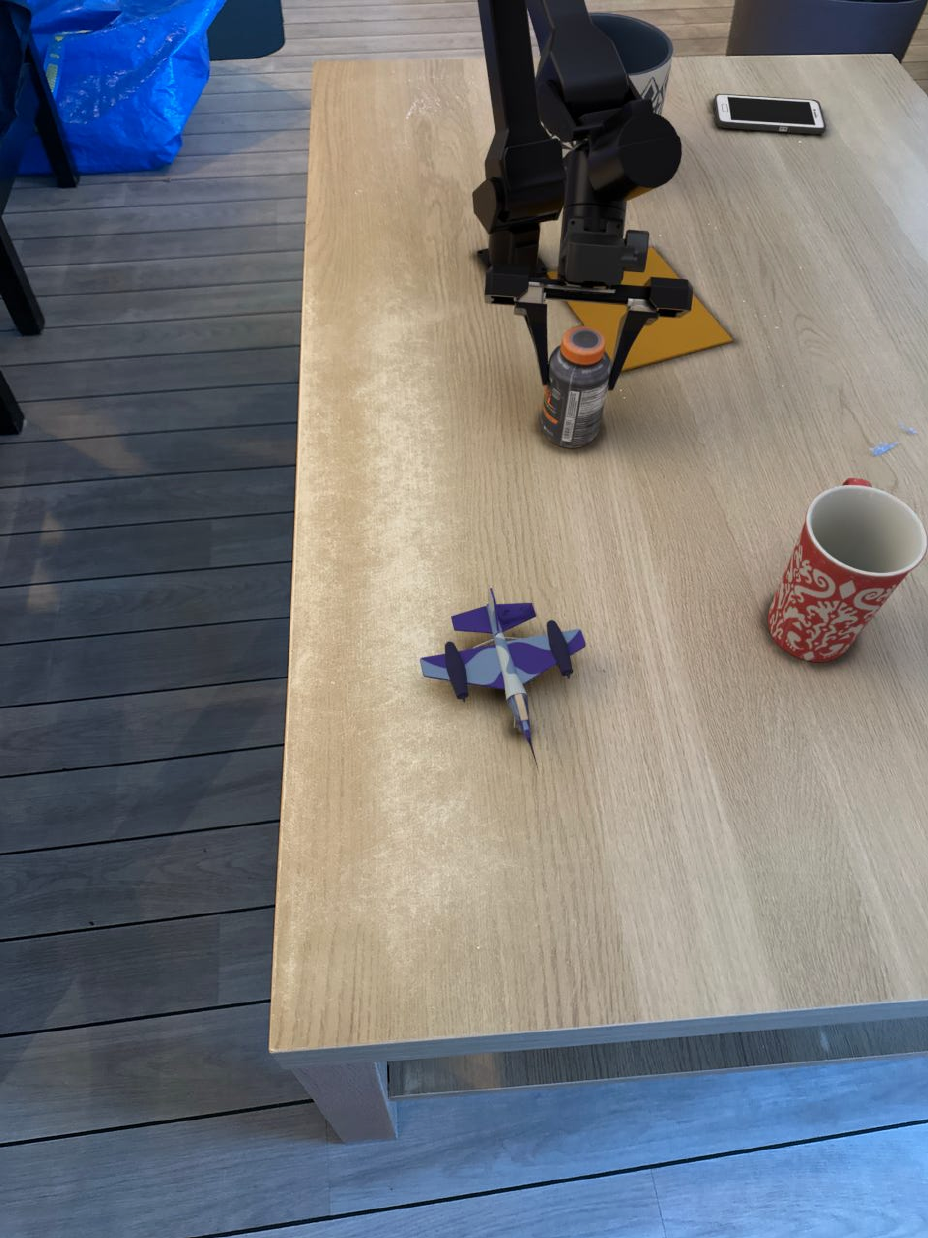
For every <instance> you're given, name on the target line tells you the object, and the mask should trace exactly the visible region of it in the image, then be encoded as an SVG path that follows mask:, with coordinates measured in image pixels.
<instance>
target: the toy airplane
mask: <svg viewBox="0 0 928 1238" xmlns="http://www.w3.org/2000/svg"><path fill="white" fill-rule="evenodd" d="M536 617H537V613H536V610H535V607H534V605H533V602H520V603H519V602H515V603H497V601H496V596H495V593H494V590H493V588H492V587H490V588H489V591H488V603H487V604H486V605H483V606H479V607H477V608H474V609H470V610H468V611H464V612H460V613H458V614H454V615H451V616H450V619H451V623H452V628H453V631H454V632H465V633H466V632H467V633H477V634H479V633H480V634H488V635H489V634H490V635H492V638H491V639H488V640H486V641H484V642H482V643H479V644H476V645H475V646H473V647H472V648H469V649H468V648H467V649H463V650H462V649H461V650H458V648H457V646H456V644H455V643H454V642H453V641H450V640H449V641H446V643H445V644H444V653H440V654H433V655H428V656H423V657H421V658H419V664H420V668H421V672H422V676H423V677H424V678H427V679H434V680H441V681H447V682H450V685H451V687H452V690H453V692H454V695H455V697H456V699H457V700H461V701H463V703H466V699H467V698H469V696H470V692H469V685H472V686H479V687H484V688H489V689H496V690H502V691H505V692H504V694H505V700H506V703H507V705H508V707H509V708H510V709H509V710H510V711H511V712H512V714H513V729H516V730H517V732H519V733H523V735H524V737H525V739H526V741H527V743H528V745H529V747H530V750H531V754H532V756H533V760H534V762H535V766H536V768H537V771H538V774H539V776H541V774H540V770H539V767H538V762H537V758H536V755H535V751H534V747H533V742H532V735H531V726H530V725H531V724H530V712H529V700H528V699H529V698H528V694H527V691H526V689H525V687H524V685H525V684H527V683H529V682H530V681H532V680H534V679H535V678H537V677H538V676H540V675H542V674H544V673H546V672H547V671H548V670H550V669H552V668H553V667H555V666H556V667H557V668H558V670H559V673H560V675H561V676H562V677H566V678H567V679H568V680H570V679H571V675H573V673H574V668H573V662H572V656H573V655H575V654H576V653H578V652H580V651H581V650H583V649H584V648H586V645H587V642H586V640H585V638H584V634H583V631H582V630H581V629H580V628H575V629H570V630H563V631H562V630H561V628H560V627H559V625H558V623H557V622H556V620H553V619H550V620H548V621H547V622H546V634H540V635H535V636H529V637H525V638H523V637H515V636H514V637H513V636H512V637H511V636H504V632H507V631H509V630H511V629H513V628H516V627H518V626H519V625H522V624H523V623H526V622H528V621H530V620H533V619H534V618H536ZM492 642H494V644H492V645H486V644H488V643H492ZM484 645H486V646H484Z"/></svg>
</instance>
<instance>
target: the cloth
mask: <svg viewBox="0 0 928 1238" xmlns="http://www.w3.org/2000/svg"><path fill="white" fill-rule="evenodd" d="M557 271H558V269H556V270H552V271H548V273H547V274H546V275H545V276H546V277H547V279H557ZM650 277H663V278H676V279H680V277H679V276H678V275H677V274H676V273H675V271H674V270H673V269H672V268H671V267H670V266H669V264H668V263H667V262H666V261H665V260H664V259H663V258H662V257H661V255H660V254H659V253H658V252H657V251H656V250H655V248H654V247H648V254H647V261H646V267H645V271H644V272H643V273H642V272H629V271H624V276H623V280H622V282H621V284H624V285H637V286H643V285H644V283H645V282H646V281H647V280H648V279H649V278H650ZM565 302H566V304H567V305H568V306H569V307H570V308H571V310H572V311H573V312H574V314H575V315H576V316H577V318H578V320H579V321H580V322H581V323H582V325H583V326H590V327H593V328H595V329H597V330H599V331H600V332H601V333H602V334H603V335H604V337H605V341H606V344H605V351H606V353H607V354H608V356H609V358H610V360H611V362H612V357H613V352H614V347H615V342H616V337H617V332H618V327H619V323H620V318H621V317H622V316H623V315H624V314H625V313H626V310H625V305H612V304H599V303H586V302H573V301H565ZM731 342H733V338H732V337H731V336H730V335H729V333H728V332H727V331H726V330H725V329H724V328H723V326H721V324H720V323H719V322H718V321H717V320H716V319H715V317H714V316H713V315H712V314H711V313H710V311H708V309H707V308H706V307H705V306H704V305H703V304H702V302H701V301H700V300H699V299H698V298H697V297H696V296H695V294H693V300H692V308H691V311H690V312H689V313H687V314H686V315H684V316H683V317H681V318H664V317H659V319H658V320H657V321H656V322H654V323H653V324H651V325H648V326H645V325H644V326H643V328H642V330H641V331H640V333H639V334H638V336H637V338H636V340H635V341H634V343H633V345H632V347H631V349H630V351H629V354H628V356H627V358H626V361H625V363H624V365H623V368H622V370H621V373H622V372H625V371H629V370H632V369H636V368H639V367H644V366H647V365H652V364H656V363H658V362H662V361H666V360H669V359H673V358H676V357H681V356H685V355H688V354H692V353H695V352H699V351H703V350H706V349H709V348H714V347H717V346H720V345H724V344H728V343H731Z"/></svg>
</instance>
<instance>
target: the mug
mask: <svg viewBox="0 0 928 1238" xmlns="http://www.w3.org/2000/svg"><path fill="white" fill-rule="evenodd" d="M804 517H805V518H804V523H803V526H802V528H801V531H800V533H799V536H798V538H797V541H796V543H795V544H794V545H795V546H794V547H793V550H792V553H791V556H790V558H789V560H788V563H787V565H786V568H785V570H784V572H783V575H782V578H781V580H780V582H779V585H778V588H777V590H776V592H775V595H774V596H773V599H772V602H771V604H770V607H769V609H768V613H767V627H768V630H769V633H770V635H771V637H772V639H773V640H774V641H775V643H776V644H777V645H778V646H779V647H780V648H781V649H783V650H784V651H785V652H787V653H788V654H790V655H792V656H793V657H796V658H798V659H801V660H803V661H806V662H812V663H813V662H814V663H824V662H830V661H832V660H835V659H837V658H839V657H841V656H842V655H843V654H844V653H846V651H847V650H849V648H850V647H851V646H852V644H853V643H854V641H856V639H857V638H858V636H859V635H860V633H862V631H863V630H864V628H865V627H866V626H867V625H868V624H869V623H870V621H872V619H873V618H874V616H876V614H877V612H878V611H879V610H880V609H881V607H882V606H883V605H884V604H885V603H886V601H887V600H888V599H889V598H890V597H891V596H892V594H893V593H894V592H895V590H896V589H897V588H898V587H899V586H900V584H901V583H902V582H903V581H904V580H905V578H906V577H907V575H908V574H909V573H910V572H911V571H913V570H914V569H916V568H917V567H918V566H919V565H920V564H921V563H922V562H923V560H924V559H925V557H926V555H927V552H928V533H927V529H926V527H925V525H924V523H923V521H922V519H921V518H920V516H919V515H918V514H917V512H916V511H915V510H914V509H913V508H911V506H910V505H908V504H907V503H906V502H905V501H903V500H902V499H900V498H899V497H897V496H896V495H893V494H891V493H889V492H887V491H884V490H883V489H879V488H876V487H872V484H871V482H870V481H869V480H867V479H864V478H859V477H848V478H846V479H845V481H843V482H842V484H841V485H838V486H833V487H830V488H828V489H825V490H823V491H822V492H820V493H819V494H818V495H817V496H816V497H814V499H812V500H811V502H810V504H809V505H808V507H807V510H806V512H805V516H804Z"/></svg>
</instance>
